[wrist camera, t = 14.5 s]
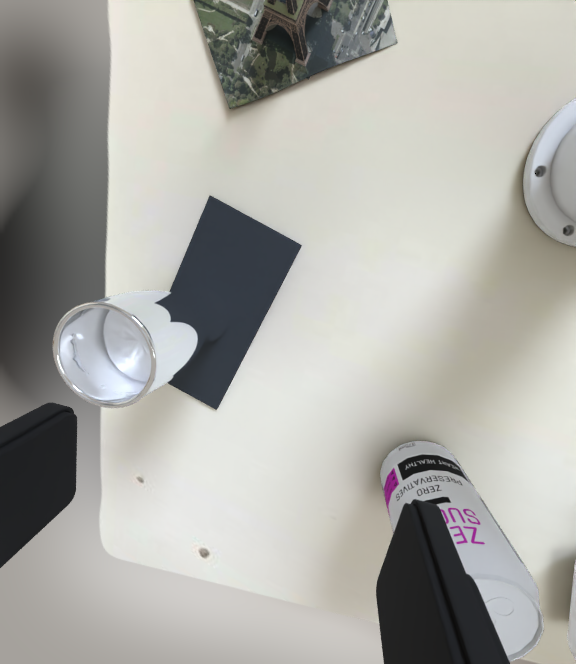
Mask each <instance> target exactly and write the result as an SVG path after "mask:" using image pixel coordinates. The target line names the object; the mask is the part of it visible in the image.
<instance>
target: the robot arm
mask: <svg viewBox="0 0 576 664" xmlns="http://www.w3.org/2000/svg"><path fill="white" fill-rule="evenodd" d="M535 172H536V175H535ZM523 190H524V198H525V202H526V205H527V208H528V211H529V213H530V215H531V217H532V218H533V220H534V221H535V223H536V224H537V226H538V227H539V228H540V229H542V230H543V231H544V232H545V233H546V234H547V235H548V236H550V237H552V238H553V239H555V240H556V241H558V242H561V243H564V244H567V245H570V246H574V247H576V98H574V99H573V100H571V101H570V102H569V103H567V104H566V105H565V106H564V107H563V108H561V109H560V110H559V111H558V112H556V113H555V115H554V116H553V117H552V118H551V119H550V120H549V121H548V122H547V123H546V124H545V126H544V127H543V129H542V130H541V132H540V133H539V135H538V136H537V138H536V139H535V141H534V143H533V145H532V148H531V150H530V152H529V154H528V157H527V161H526V165H525V169H524V178H523ZM563 230H564V231H563ZM76 451H77V417H76V415H75V414H74V411H73V409H72V408H70V407H67V406H63V405H60V404H56V403H47V404H45V405H42V406H41V407H39V408H37V409H35V410H33V411H31V412H29V413H27V414H25V415H23V416H21V417H19V418H17V419H15V420H13V421H12V422H9V423H7V424H5V425H3V426H2V427H0V568H1V567H2V566H3V565H4V564H5V563H6V562H7V561H8V560H9V559H11V558H12V557H13V556H14V555H15V554H16V553H17V552H18V551H19V550H20V549H21V548H22V547H23V546H25V545H26V544H27V543H28V542H29V541H30V540H31V539H32V538H33V537H34V536H35V535H36V534H37V533H38V532H40V531H41V530H42V529H43V528H44V527H45V526H46V525H47V524H48V523H49V522H50V521H51V520H52V519H54V518H55V517H56V516H57V515H58V514H59V513H60V512H61V511H62V510H63V509H64V508H65V507H66V506H67V505H68V504H69V503H70V502H71V501H72V499H73V497H74V495H75V492H76V455H77V453H76ZM376 597H377V606H378V615H379V623H380V632H381V641H382V649H383V658H384V664H510V662H509V660H508V657H507V655H506V652H505V650H504V648H503V645H502V643H501V641H500V638H499V636H498V634H497V631H496V629H495V626H494V624H493V622H492V619H491V617H490V615H489V612H488V610H487V608H486V605H485V603H484V600H483V598H482V596H481V593H480V591H479V589H478V586H477V585H476V583H475V581H474V579H473V578H472V577H471V576H470V575H469V574H466V572H465V569H464V567H463V564H462V562H461V559H460V557H459V554H458V552H457V549H456V547H455V544H454V542H453V540H452V537H451V535H450V532H449V530H448V527H447V525H446V522H445V520H444V517H443V515H442V512H441V510H440V508H439V506H437V505H436V504H432V503H428V502H424V501H421V500H417V499H413V501H412V502H411V504H408V503H405V504H404V506H403V508H402V511H401V514H400V517H399V520H398V522H397V525H396V528H395V531H394V534H393V537H392V540H391V543H390V545H389V548H388V551H387V554H386V557H385V560H384V563H383V566H382V568H381V571H380V574H379V577H378V580H377V587H376Z"/></svg>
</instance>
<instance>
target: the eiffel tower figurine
mask: <svg viewBox="0 0 576 664" xmlns="http://www.w3.org/2000/svg"><path fill="white" fill-rule="evenodd" d="M194 2H195V5H196V8H197V12H198V15H199V18H200V21H201V24H202V27H203V30H204V33H205V36H206V39H207V42H208V45H209V48H210V51H211V54H212V57H213V60H214V63H215V66H216V69H217V72H218V75H219V78H220V81H221V84H222V87H223V90H224V93H225V96H226V99H227V102H228V105H229V108H234V107H237V106H240V105H243V104H246V103H248V102H251V101H254V100H257V99H260V98H262V97H265V96H267V95H270V94H273V93H275V92H277V91H279V90H282V89H284V88H286V87H288V86H290V85H292V84H294V83H296V82H298V81H301V80H303V79H305V78H307V79H309V77H310V76H312V75H314V74H316V73H318V72H321V71H323V70H325V69H328V68H330V67H333V66H336V65H338V64H341V63H343V62H346V61H349V60H352V59H355V58H357V57H360V56H363V55H366V54H369V53H372V52H374V51H377V50H380V49H383V48H385V47H388V46H391V45H393V44H396V43H397V39H396V35H395V30H394V26H393V22H392V18H391V13H390V9H389V5H388V1H387V0H194Z"/></svg>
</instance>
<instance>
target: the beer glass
mask: <svg viewBox="0 0 576 664" xmlns="http://www.w3.org/2000/svg"><path fill="white" fill-rule="evenodd" d="M228 322H229V311H228V307H227V305H226V303H225V301H224V299H223V298H222V297H221V295H220V294H219V293H217V292H216V291H215V290H213V289H211V288H209V287H206V286H199V285H197V286H191V287H188V288H186V289H184V290H182V291H181V292H179V293H174V292H168V291H159V290H141V291H132V292H126V293H122V294H117V295H113V296H110V297H106V298H103V299H99V300H96V301H93V302H88V303H83V304H81V305H78V306H76V307H74V308H72V309H71V310H69V311H68V312H67V313H66V314H65V315H64V316H63V317H62V319H61V320H60V322H59V324H58V325H57V327H56V330H55V334H54V338H53V355H54V359H55V363H56V366H57V369H58V371H59V373H60V375H61V377H62V378H63V380H64V381H65V383H66V384H67V385H68V386H69V387H70V388H71V389H72V390H73V391H74V392H75V393H76V394H77V395H78V396H80V397H81V398H83V399H84V400H86V401H88V402H90V403H92V404H94V405H97V406H101V407H106V408H121V407H126V406H129V405H131V404H134V403H136V402H137V401H139V400H140V399H141V398H143V397H144V396H146V395H148V394H150V393H151V392H153V391H155V390H156V389H158V388H160V387H161V386H163V385H165V384H166V383H167V382H169V381H170V380H172V379H173V378H175V377H176V376H177V375H178V374H179V373H180V372H182V371H183V370H184V369H185V368H186V367H187V366H188V365H189V363H190V362H191V361H192V360H193V359H194V357H195V356H196V354H197V353H198V351H199V350H200V348H201V347H202V345H203V344H207V343H210V342H213V341H215V340H217V339H218V338H219V337H221V336H222V334H223V333H224V332H225V330H226V328H227V326H228Z"/></svg>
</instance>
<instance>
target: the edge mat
mask: <svg viewBox="0 0 576 664" xmlns="http://www.w3.org/2000/svg"><path fill="white" fill-rule="evenodd" d="M300 248H301V245H300V244H298V243H296V242H295V241H293V240H291V239H289V238H287V237H285V236H284V235H282V234H280V233H278V232H276V231H274V230H273V229H271V228H269V227H267V226H265V225H263V224H262V223H260V222H258V221H256V220H254V219H252V218H251V217H249V216H247V215H245V214H243V213H241V212H240V211H238V210H236V209H234V208H232V207H230V206H229V205H227V204H225V203H223V202H221V201H219V200H218V199H216V198H214V197H212V196H209V199H208V201H207V204H206V206H205V208H204V211H203V213H202V215H201V218H200V220H199V223H198V225H197V227H196V230H195V232H194V234H193V237H192V239H191V242H190V244H189V246H188V249H187V251H186V254H185V256H184V258H183V261H182V263H181V265H180V268H179V270H178V273H177V275H176V277H175V280H174V282H173V284H172V287H171V289H170V292H174V293H179V292H181V291H182V290H184V289H186V288H188V287H191V286H197V285H199V286H206V287H209V288H211V289H213V290H215V291H216V292H217V293H219V294H220V295H221V297H222V298H223V299H224V301H225V303H226V305H227V307H228V311H229V322H228V326H227V328H226V330H225V332H224V333H223V334H222V336H221V337H219V338H218V339H217V340H215V341H213V342H210V343H207V344H203V345H202V347H201V348H200V350H199V351H198V353H197V354H196V356H195V357H194V359H193V360H192V361H191V362H190V363H189V365H188V366H187V367H186V368H185V369H184V370H183V371H182V372H180V373H179V374H178V375H177V376H176V377H175V378H173V379H172V380H170V381H169V382H167V383H168V384H170V385H172V386H174V387H176V388H178V389H179V390H181V391H183V392H185V393H187V394H189V395H190V396H192V397H194V398H196V399H198V400H200V401H201V402H203V403H205V404H207V405H209V406H211V407H212V408H214V409H216V410H217V408H218V406H219V404H220V403H221V401H222V399H223V397H224V395H225V393H226V391H227V389H228V387H229V385H230V383H231V381H232V379H233V377H234V375H235V374H236V372H237V370H238V368H239V366H240V364H241V362H242V360H243V358H244V356H245V354H246V352H247V350H248V348H249V346H250V344H251V343H252V341H253V339H254V337H255V335H256V333H257V331H258V329H259V327H260V325H261V323H262V321H263V319H264V317H265V315H266V314H267V312H268V310H269V308H270V306H271V304H272V302H273V300H274V298H275V296H276V294H277V292H278V290H279V288H280V286H281V285H282V283H283V281H284V279H285V277H286V275H287V273H288V271H289V269H290V267H291V265H292V263H293V261H294V259H295V257H296V255H297V254H298V252H299V250H300Z"/></svg>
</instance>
